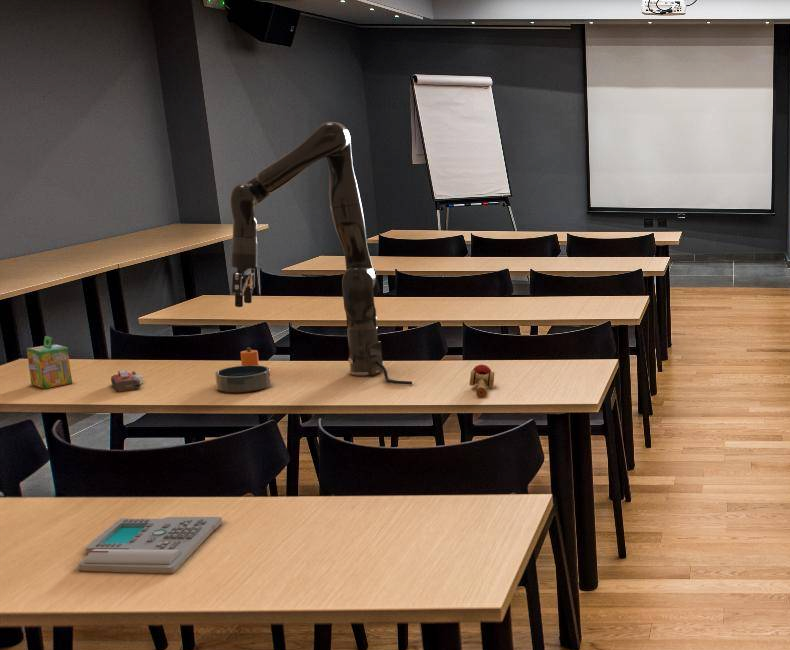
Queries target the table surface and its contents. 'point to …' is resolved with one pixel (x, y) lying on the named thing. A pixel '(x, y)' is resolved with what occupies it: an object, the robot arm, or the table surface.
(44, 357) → the chalk box
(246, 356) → the squash
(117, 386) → the grey and red device
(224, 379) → the bowl
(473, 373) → the kendama
